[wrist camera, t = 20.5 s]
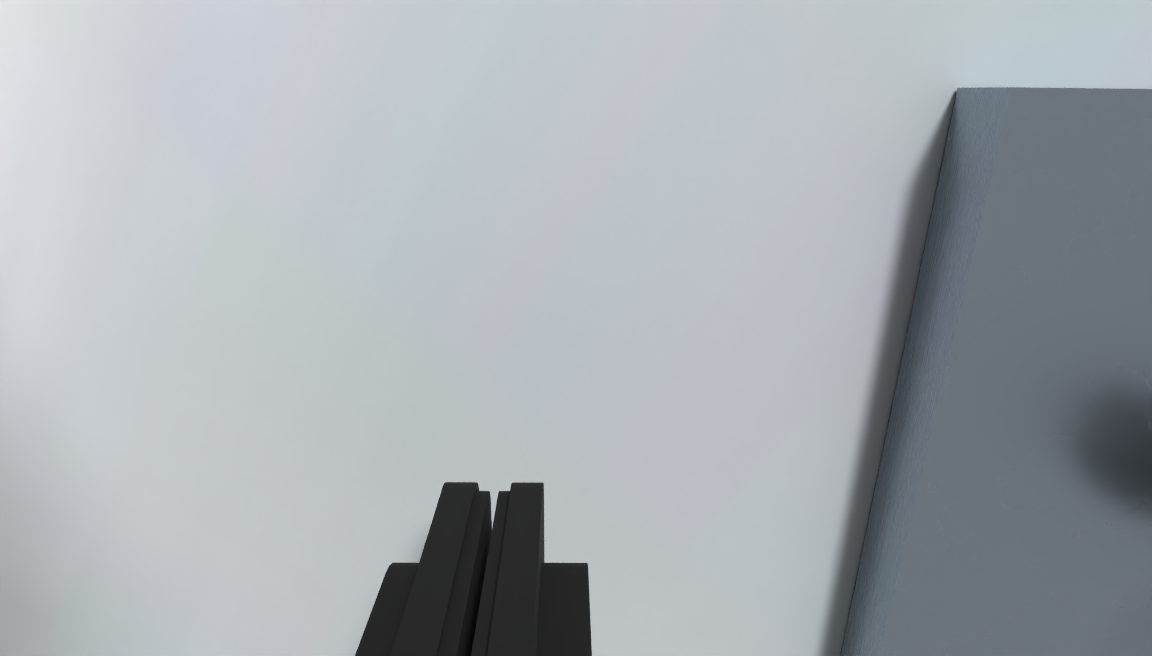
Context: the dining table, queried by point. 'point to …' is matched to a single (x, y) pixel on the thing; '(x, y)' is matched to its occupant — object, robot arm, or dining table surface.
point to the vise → (1023, 394)
